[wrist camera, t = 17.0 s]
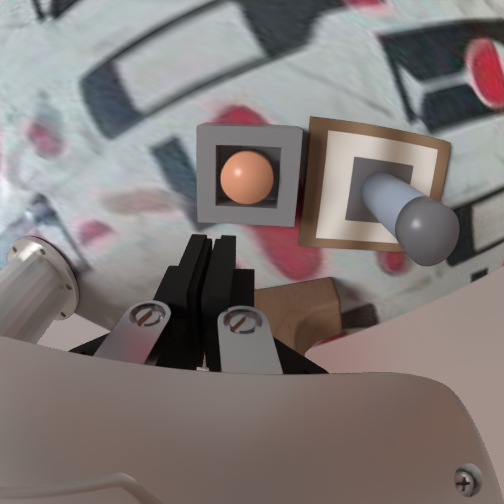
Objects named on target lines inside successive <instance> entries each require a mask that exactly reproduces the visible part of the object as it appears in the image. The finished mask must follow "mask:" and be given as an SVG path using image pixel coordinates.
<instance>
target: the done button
mask: <svg viewBox="0 0 504 504" xmlns="http://www.w3.org/2000/svg"><path fill="white" fill-rule="evenodd" d="M221 185H222V188H223V190H224V192H225V193H226V194H227V196H228V197H230V198H231V199H232V200H234V201H236V202H238V203H242V204H253V203H256V202H259V201H261V200H262V199H264V198H265V197H266V196H267V195H268V194H269V192H270V191H271V188H272V185H273V171H272V165H271V163H270V161H269V159H268V158H267V157H266V156H265V155H264V154H263V153H262V152H260V151H258V150H255V149H242V150H239V151H237V152H235V153H234V154H232V155H231V156H230V157H229V159H228V160H227V162H226V164H225V165H224V167H223V169H222V172H221Z"/></svg>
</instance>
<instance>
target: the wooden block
mask: <svg viewBox="0 0 504 504" xmlns="http://www.w3.org/2000/svg"><path fill="white" fill-rule="evenodd" d="M254 308H256V309H258V310H260V311H261V312H263V313H264V314H265V316H266V317H267V319H268V323H269V326H270V330H271V333H272V336H273V337H275V338H276V339H278V340H279V341H281V342H282V343H284V344H285V345H287V346H288V347H290V348H292V349H293V350H295V351H296V352H298V353H299V354H301V355H302V356H304V355H305V352H306V351H307V350H309V349H310V348H311V347H312V346H313V345H314V344H315V343H316V342H317V341H320V340H323V339H326V338H329V337H332V336H335V335H338V334H340V333H341V331H342V323H341V306H340V299H339V296H338V293H337V290H336V287H335V284H334V281H333V279H332V278H331V277H327V278H322V279H316V280H311V281H305V282H300V283H294V284H289V285H283V286H277V287H271V288H265V289H259V290H254Z"/></svg>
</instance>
